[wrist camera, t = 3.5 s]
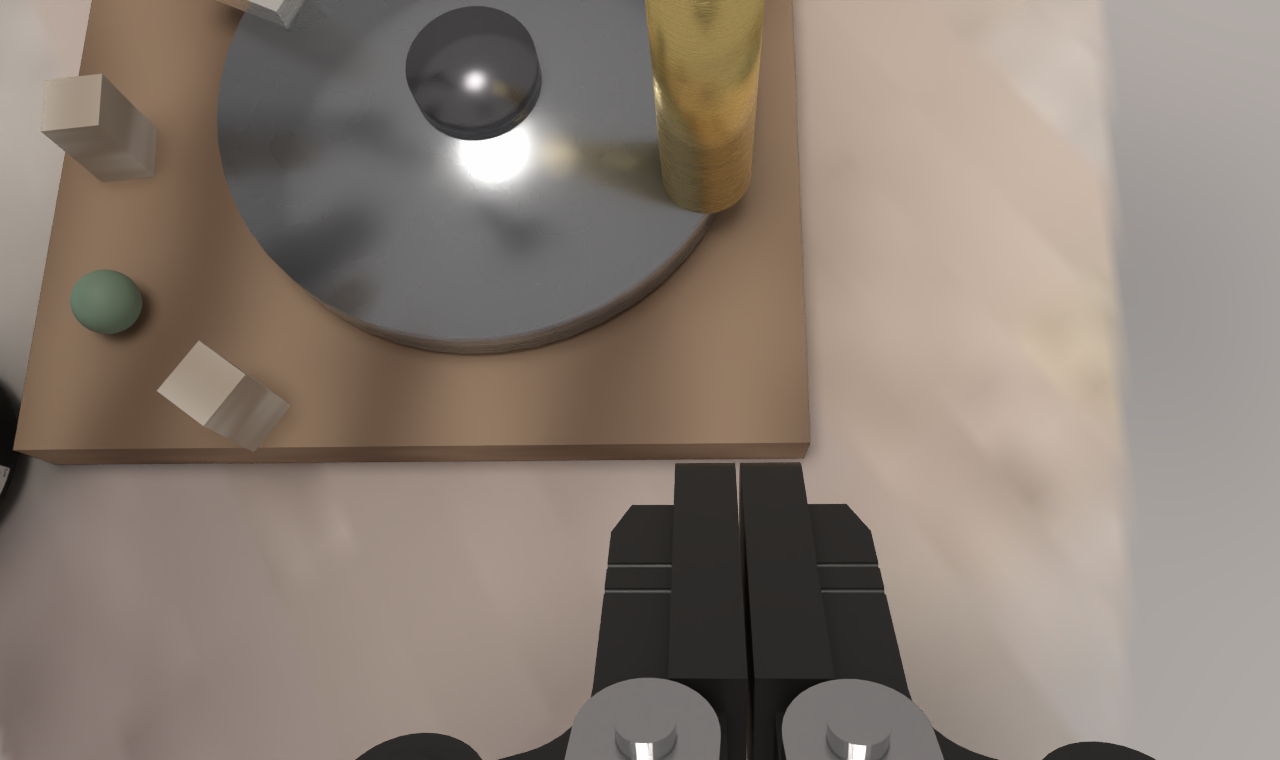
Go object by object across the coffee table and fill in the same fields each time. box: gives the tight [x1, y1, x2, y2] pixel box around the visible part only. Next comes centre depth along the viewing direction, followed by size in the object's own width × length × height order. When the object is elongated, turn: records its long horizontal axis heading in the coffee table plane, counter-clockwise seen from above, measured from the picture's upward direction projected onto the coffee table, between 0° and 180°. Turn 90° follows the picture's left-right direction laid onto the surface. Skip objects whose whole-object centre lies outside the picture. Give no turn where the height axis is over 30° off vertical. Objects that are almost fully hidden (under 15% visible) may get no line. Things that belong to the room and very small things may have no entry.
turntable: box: [13, 0, 810, 464], centre depth 31 cm, size 22×20×5 cm
